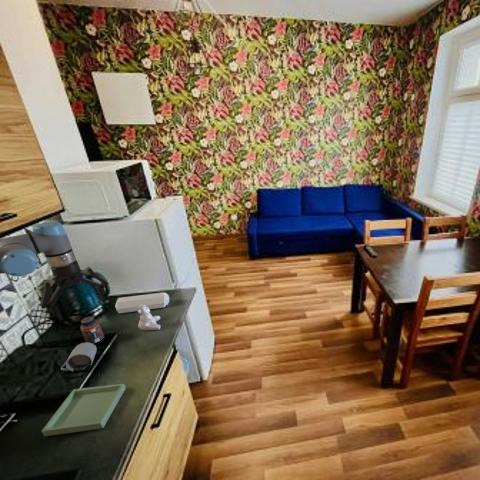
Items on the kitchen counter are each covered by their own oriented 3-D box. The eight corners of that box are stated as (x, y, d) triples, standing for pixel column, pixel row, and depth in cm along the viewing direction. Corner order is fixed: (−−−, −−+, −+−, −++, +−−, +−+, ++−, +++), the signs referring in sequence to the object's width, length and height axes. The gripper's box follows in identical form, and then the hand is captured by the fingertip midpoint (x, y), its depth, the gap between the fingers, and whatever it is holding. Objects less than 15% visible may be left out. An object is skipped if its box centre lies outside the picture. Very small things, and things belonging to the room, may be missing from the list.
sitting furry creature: (161, 330, 120) (154, 308, 115) (138, 336, 116) (131, 314, 111) (160, 317, 127) (155, 296, 122) (139, 323, 123) (133, 302, 119)
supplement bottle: (103, 342, 112) (95, 321, 108) (85, 348, 109) (76, 326, 105) (105, 333, 117) (97, 313, 112) (88, 338, 114) (79, 317, 110)
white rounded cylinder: (109, 311, 125) (166, 303, 131) (113, 297, 129) (167, 290, 135) (117, 317, 131) (170, 309, 137) (120, 303, 135) (172, 296, 141)
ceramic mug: (100, 352, 107) (93, 337, 104) (95, 367, 101) (88, 352, 98) (66, 362, 103) (58, 347, 100) (59, 378, 96) (50, 362, 93)
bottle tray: (44, 436, 78) (41, 431, 77) (75, 394, 90) (73, 389, 90) (103, 428, 80) (100, 423, 80) (125, 388, 93) (124, 383, 92)
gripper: (17, 280, 87) (43, 331, 95) (107, 253, 105) (122, 298, 114) (12, 273, 91) (38, 323, 99) (100, 249, 109) (115, 292, 118)
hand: (83, 309), depth 106 cm, fingers open, 13 cm apart
